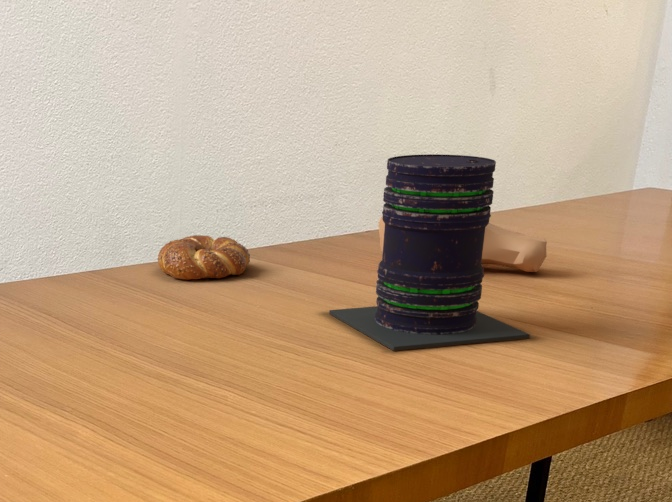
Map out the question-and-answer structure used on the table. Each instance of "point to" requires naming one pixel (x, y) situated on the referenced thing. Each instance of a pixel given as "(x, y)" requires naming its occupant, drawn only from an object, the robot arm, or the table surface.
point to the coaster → (398, 340)
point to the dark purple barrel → (433, 242)
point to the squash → (505, 248)
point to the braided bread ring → (203, 257)
